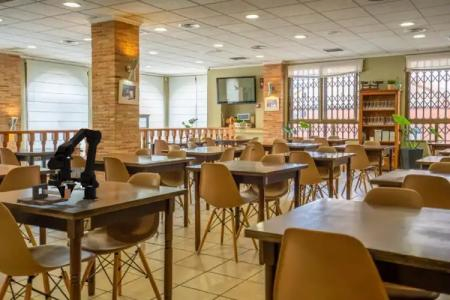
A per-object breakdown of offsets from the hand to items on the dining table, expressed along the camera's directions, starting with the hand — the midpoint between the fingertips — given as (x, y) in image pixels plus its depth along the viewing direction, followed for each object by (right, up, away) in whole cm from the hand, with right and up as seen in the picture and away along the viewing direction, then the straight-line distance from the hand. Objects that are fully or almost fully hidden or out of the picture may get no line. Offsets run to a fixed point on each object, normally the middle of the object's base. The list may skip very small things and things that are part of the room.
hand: (65, 197), depth 258 cm
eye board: (-15, -3, +8) cm, 17 cm away
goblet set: (-17, 0, +66) cm, 69 cm away
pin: (-7, 0, +4) cm, 8 cm away
